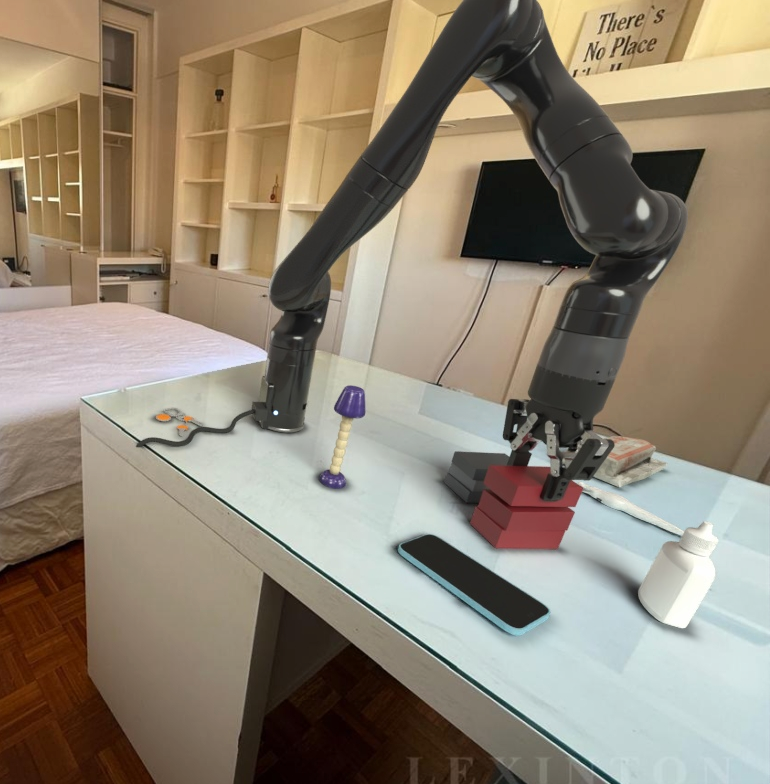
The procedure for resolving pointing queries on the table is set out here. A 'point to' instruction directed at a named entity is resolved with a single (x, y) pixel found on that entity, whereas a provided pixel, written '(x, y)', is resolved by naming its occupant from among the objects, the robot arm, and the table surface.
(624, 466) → the packaged product
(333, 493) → the table surface
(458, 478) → the grey book pile
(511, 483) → the burgundy paperback
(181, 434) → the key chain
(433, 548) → the smartphone
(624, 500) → the white toothbrush
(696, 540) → the eye dropper bottle
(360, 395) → the toy lamp
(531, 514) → the burgundy book stack
